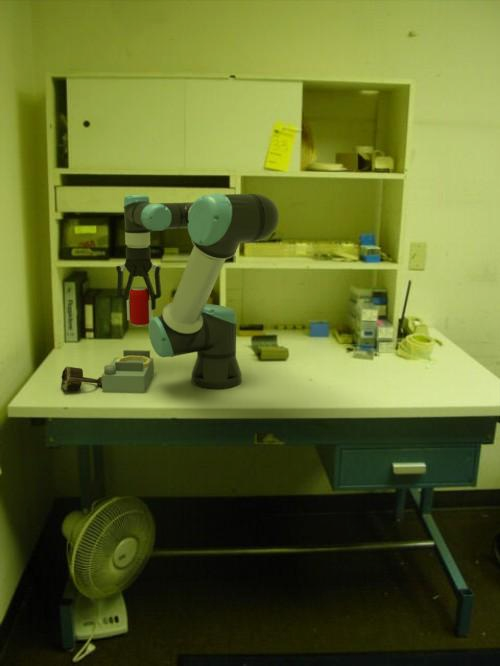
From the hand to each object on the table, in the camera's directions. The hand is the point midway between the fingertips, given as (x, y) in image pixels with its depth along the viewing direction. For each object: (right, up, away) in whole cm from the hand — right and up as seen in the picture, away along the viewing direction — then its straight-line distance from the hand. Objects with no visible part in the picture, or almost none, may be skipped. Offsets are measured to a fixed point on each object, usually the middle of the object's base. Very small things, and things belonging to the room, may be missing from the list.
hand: (140, 319), depth 194 cm
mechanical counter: (-14, -21, -16) cm, 30 cm away
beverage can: (0, -2, +1) cm, 2 cm away
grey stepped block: (-2, -19, -10) cm, 22 cm away
